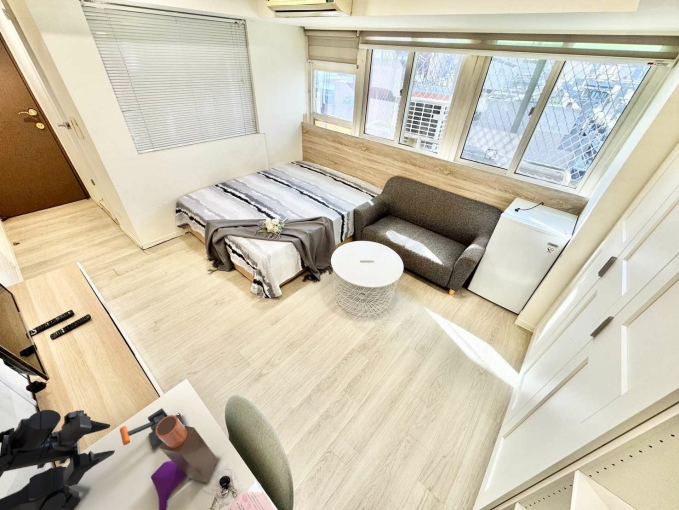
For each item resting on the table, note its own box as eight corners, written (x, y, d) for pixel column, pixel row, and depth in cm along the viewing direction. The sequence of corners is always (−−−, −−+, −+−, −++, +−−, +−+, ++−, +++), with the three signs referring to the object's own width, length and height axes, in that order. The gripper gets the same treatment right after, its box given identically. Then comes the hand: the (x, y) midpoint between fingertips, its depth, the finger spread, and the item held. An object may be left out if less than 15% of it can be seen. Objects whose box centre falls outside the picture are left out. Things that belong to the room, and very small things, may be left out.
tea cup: (161, 446, 69) (150, 434, 65) (175, 425, 73) (165, 413, 69) (179, 450, 68) (168, 438, 64) (191, 429, 72) (182, 416, 68)
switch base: (154, 450, 89) (141, 437, 83) (150, 435, 92) (137, 422, 87) (186, 427, 94) (175, 414, 89) (180, 414, 98) (170, 400, 92)
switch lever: (123, 447, 80) (123, 441, 79) (119, 432, 83) (119, 427, 83) (166, 427, 88) (166, 422, 88) (161, 415, 92) (161, 410, 91)
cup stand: (190, 478, 82) (158, 448, 69) (201, 456, 87) (174, 423, 73) (207, 483, 82) (179, 453, 68) (218, 460, 86) (194, 427, 72)
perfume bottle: (178, 465, 78) (152, 552, 69) (192, 461, 85) (169, 540, 76) (154, 462, 79) (125, 548, 70) (170, 458, 85) (145, 536, 76)
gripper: (57, 457, 61) (133, 442, 74) (55, 396, 72) (121, 392, 85) (29, 498, 61) (110, 476, 73) (32, 431, 72) (101, 422, 85)
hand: (111, 438), depth 79 cm, fingers open, 9 cm apart
